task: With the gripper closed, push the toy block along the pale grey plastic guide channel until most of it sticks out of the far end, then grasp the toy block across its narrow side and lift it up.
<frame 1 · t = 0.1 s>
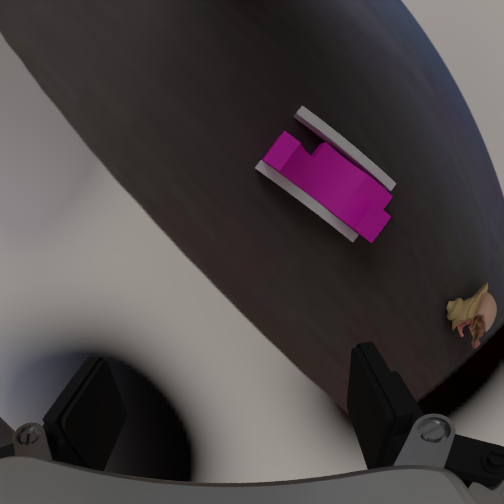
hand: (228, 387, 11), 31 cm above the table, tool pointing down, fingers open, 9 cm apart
toy block: (322, 176, 40), on the table
guide channel: (324, 174, 39), on the table
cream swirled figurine: (464, 303, 44), on the table
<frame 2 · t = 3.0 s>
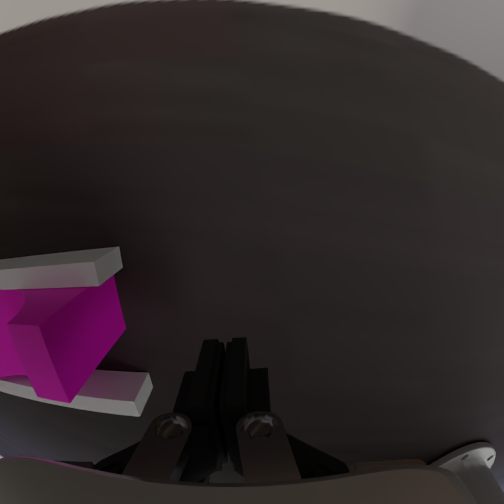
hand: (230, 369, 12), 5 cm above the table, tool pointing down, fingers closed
toy block: (37, 315, 18), on the table
guide channel: (42, 322, 18), on the table
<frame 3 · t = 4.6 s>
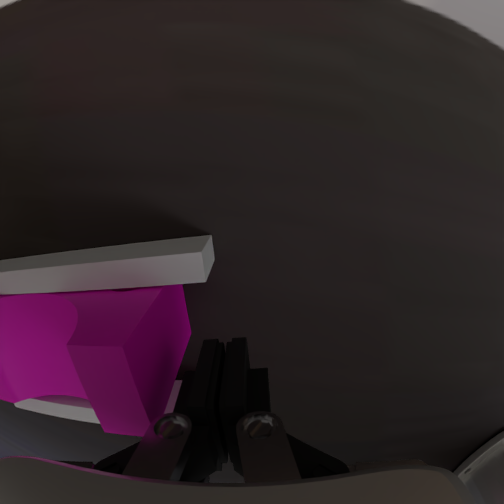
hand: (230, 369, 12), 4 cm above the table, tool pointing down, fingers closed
toy block: (72, 323, 16), on the table, touching gripper
guide channel: (96, 329, 16), on the table
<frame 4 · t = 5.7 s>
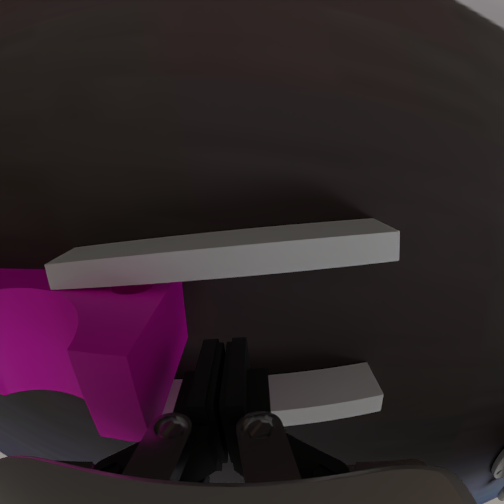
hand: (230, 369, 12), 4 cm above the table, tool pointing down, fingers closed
toy block: (67, 318, 16), on the table, touching gripper
guide channel: (226, 323, 16), on the table
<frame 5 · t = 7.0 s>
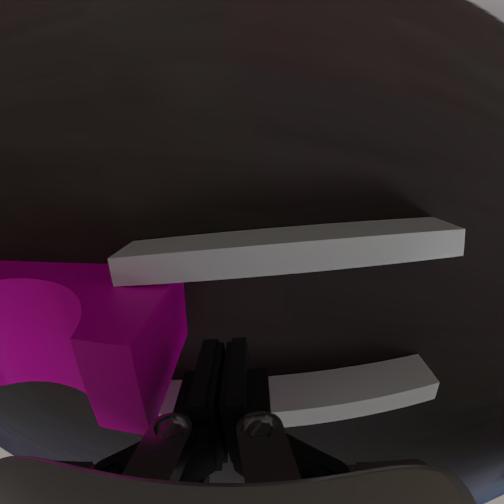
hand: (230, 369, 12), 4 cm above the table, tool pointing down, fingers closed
toy block: (68, 310, 16), on the table
guide channel: (294, 318, 16), on the table
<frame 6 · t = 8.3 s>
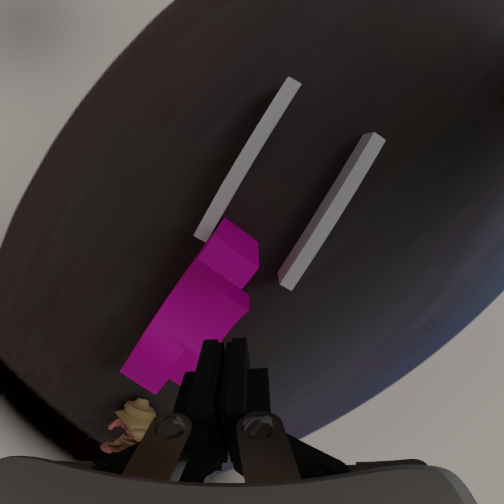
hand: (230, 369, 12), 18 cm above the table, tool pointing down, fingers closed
toy block: (206, 296, 31), on the table
guide channel: (287, 182, 27), on the table
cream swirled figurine: (151, 419, 36), on the table
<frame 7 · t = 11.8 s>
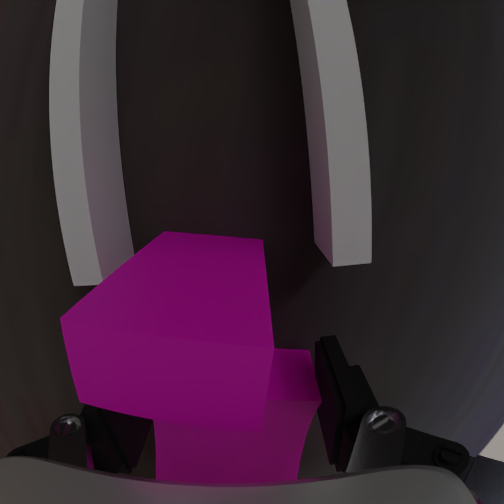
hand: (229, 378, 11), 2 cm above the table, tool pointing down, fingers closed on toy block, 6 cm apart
toy block: (233, 389, 14), on the table, touching gripper
guide channel: (202, 54, 10), on the table
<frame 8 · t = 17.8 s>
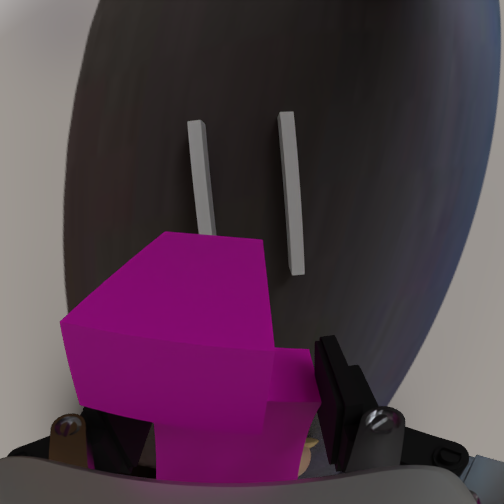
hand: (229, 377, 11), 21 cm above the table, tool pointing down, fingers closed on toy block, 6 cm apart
toy block: (233, 390, 14), point 19 cm above the table, touching gripper
guide channel: (248, 195, 31), on the table
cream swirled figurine: (282, 436, 40), on the table
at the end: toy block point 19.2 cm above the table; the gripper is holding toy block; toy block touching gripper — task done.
